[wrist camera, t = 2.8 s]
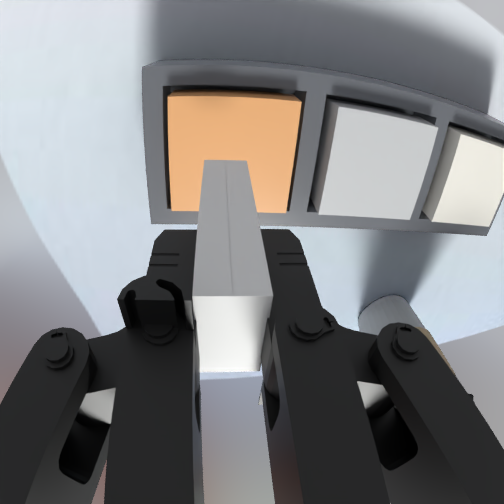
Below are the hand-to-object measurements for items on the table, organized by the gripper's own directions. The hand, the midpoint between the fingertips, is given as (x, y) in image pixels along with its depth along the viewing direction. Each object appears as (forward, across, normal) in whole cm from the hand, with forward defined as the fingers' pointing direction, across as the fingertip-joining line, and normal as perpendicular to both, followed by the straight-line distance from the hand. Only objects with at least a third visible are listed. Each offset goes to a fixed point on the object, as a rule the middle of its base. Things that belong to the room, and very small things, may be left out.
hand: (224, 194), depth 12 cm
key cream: (+6, -16, 0) cm, 17 cm away
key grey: (+6, -8, 0) cm, 10 cm away
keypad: (+9, -8, 0) cm, 12 cm away
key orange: (+6, 0, 0) cm, 6 cm away
